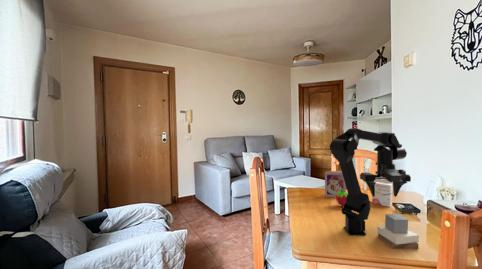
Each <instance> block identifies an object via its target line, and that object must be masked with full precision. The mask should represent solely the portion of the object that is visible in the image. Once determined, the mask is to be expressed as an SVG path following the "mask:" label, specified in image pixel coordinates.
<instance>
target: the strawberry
mask: <svg viewBox="0 0 482 269" xmlns="http://www.w3.org/2000/svg"><path fill="white" fill-rule="evenodd" d="M347 194H348V192H346V193H345V192H344V189H343V188H342V192H338V193H337V194H336V197H335V198H336V199H335V200H336V201H337V203H338V204H339V205H340V206H341V207H343V206H344V205H345V203H346V197H347Z"/></svg>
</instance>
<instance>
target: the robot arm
mask: <svg viewBox="0 0 482 269" xmlns="http://www.w3.org/2000/svg"><path fill="white" fill-rule="evenodd" d="M350 139H351V140H350ZM360 140H363V141H368V142H369V141H370V142H371V143H373V144H374V145H377V146H376V147H375V148H374V149H373V151H375V152H376V153H377V154H376V155H377V156H376V162H375V165H376V171H375V174H373V173H371V172H361V173H360V174H359V178H358V175H357V172H356V168H355V165H354V162H353V159H354V156H355V154H356V153H355V149H357V147H358V146H359V144H360V142H359V141H360ZM329 150H330V153H331V154H332V157H333V158H334V159H335V160H337V162H338V163H339V164H338V165H339V167H340V171H342V174H343V178H344V181H345V185H346V193H348V194H347V197H346V203H345V205H344V206H342V208H341V210H340V211H341V214H342V215H344V221H345V222H344V224H345V225H344V226H343V229H344V230H345V231H346V232H347V233H348V235H350V236H367V232H366V221H367V220H368V219H369V215H370V211H371V204H372V203H371V202H372V201H370V196H369V194H367V193H364V192H362V190H361V186H360V183H359V179H360V180H361V181H363V182H365V183H366V185H367V186H368V189H369V191H370V193H371V196H373V197H374V196H375V184H376V182H374V181H375V179H381V180H386V179H387V181H389V182H392V194H393V196H394V197H398V194H399V192H400V190H401V188H402V186H403V185H405V184H408V182H409V183H411V181H412V177H411V176H410V174H409V173H406V170H405V169H404V168H403V169H400V168H399V169H396V165H395V164H394V163H393V161H398V160H404V159H406V157H407V154H408V153H407V150H406V149H405V148H404V147H403V144H401V143H400V142H399V140H398V138H397V136H396V133H394V132H388V131H371V130H366V129H361V128H352V127H351V128H349V129H346V131H345V132H343V133H341V134H339V135H338V136H336V137H335V138H334V139H333V140H331V142H330V144H329Z"/></svg>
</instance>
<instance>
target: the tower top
mask: <svg viewBox="0 0 482 269" xmlns="http://www.w3.org/2000/svg"><path fill="white" fill-rule="evenodd" d="M376 228H377V231H376V232H377V234H378V233H379V234H381V235H382V236H384V237H385V238H387V239H388V240H390V241H392V242H393V243H395V244H405V243H414V242H417V243H419V240H420V239H419V237H420V234H418V233H415V232H414V231H412V230H410V229H408V233H393V232H392V231H390V230H389V229H387V228H386V227H385V225H377V227H376Z"/></svg>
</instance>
